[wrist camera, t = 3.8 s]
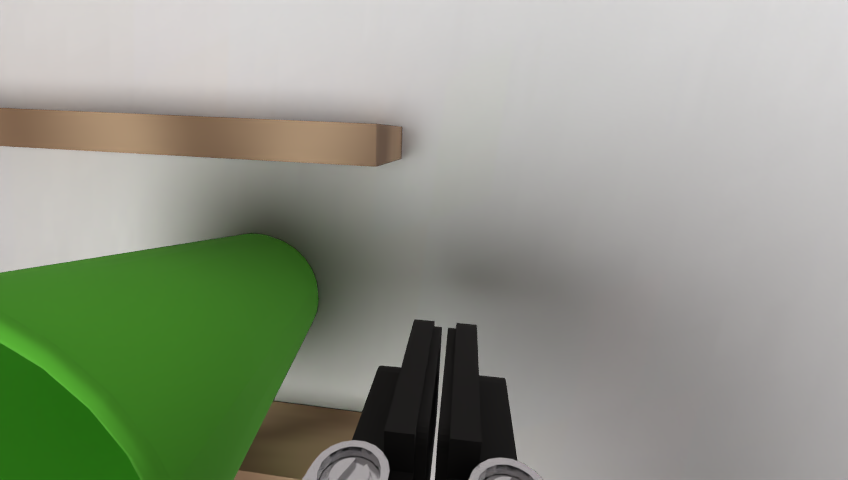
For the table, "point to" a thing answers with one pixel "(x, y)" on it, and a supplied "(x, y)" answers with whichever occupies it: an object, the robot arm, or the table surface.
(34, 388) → the cup
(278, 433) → the bay
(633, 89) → the table surface
